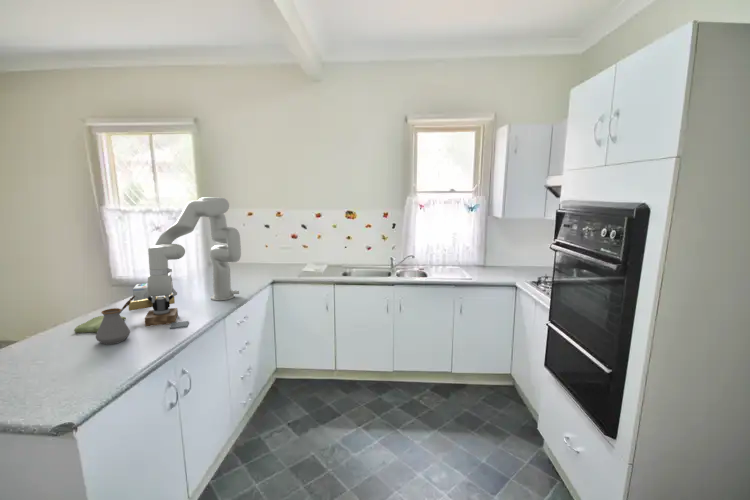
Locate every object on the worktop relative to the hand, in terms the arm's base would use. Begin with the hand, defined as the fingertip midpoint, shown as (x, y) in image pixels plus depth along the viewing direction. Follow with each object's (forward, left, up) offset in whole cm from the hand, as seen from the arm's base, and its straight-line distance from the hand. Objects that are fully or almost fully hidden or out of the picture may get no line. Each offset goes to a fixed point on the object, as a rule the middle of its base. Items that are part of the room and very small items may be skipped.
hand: (161, 309), depth 166 cm
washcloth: (+24, -2, -6) cm, 25 cm away
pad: (-8, +9, -6) cm, 14 cm away
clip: (+5, -7, 0) cm, 8 cm away
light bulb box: (+13, -32, -6) cm, 35 cm away
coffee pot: (+13, +15, -6) cm, 21 cm away
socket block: (0, -1, -6) cm, 6 cm away
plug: (0, 0, -6) cm, 6 cm away
